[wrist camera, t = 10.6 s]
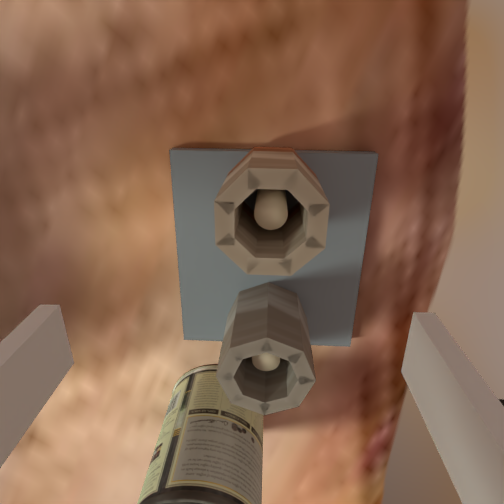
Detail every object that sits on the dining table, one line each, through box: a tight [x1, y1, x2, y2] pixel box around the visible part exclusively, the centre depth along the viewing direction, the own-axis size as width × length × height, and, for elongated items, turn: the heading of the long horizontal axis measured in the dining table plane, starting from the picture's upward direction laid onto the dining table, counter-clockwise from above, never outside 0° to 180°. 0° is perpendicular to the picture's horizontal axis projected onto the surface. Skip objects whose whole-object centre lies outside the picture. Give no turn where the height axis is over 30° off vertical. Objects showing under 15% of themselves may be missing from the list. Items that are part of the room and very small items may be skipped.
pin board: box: [169, 148, 378, 371], centre depth 30 cm, size 16×18×7 cm
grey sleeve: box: [216, 282, 316, 415], centre depth 31 cm, size 7×7×8 cm
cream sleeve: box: [214, 147, 330, 276], centre depth 26 cm, size 7×7×8 cm
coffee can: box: [137, 365, 263, 504], centre depth 34 cm, size 10×10×14 cm
